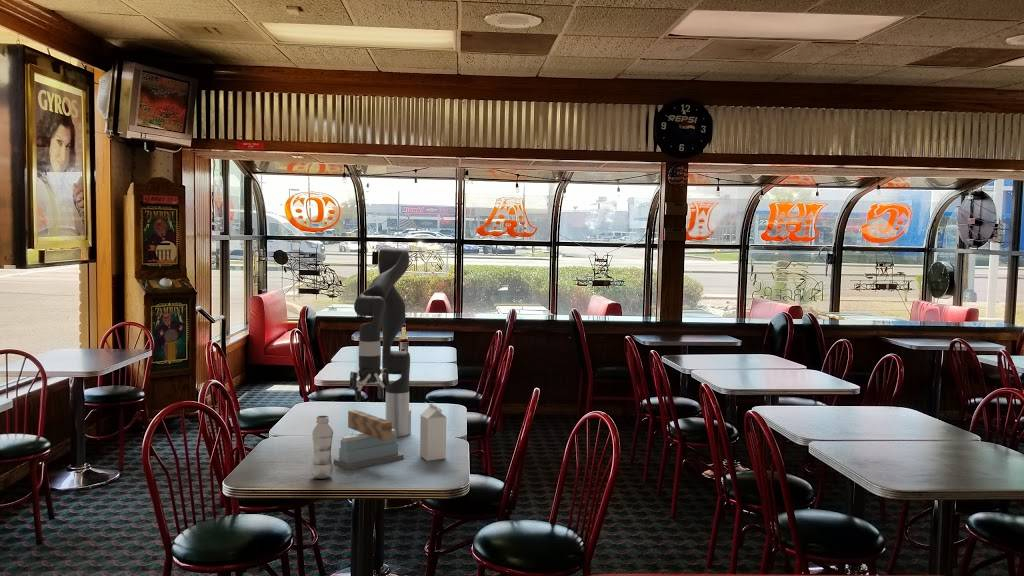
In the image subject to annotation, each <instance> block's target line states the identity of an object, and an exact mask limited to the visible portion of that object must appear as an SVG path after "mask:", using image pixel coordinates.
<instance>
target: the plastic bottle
mask: <svg viewBox="0 0 1024 576" xmlns="http://www.w3.org/2000/svg"><path fill="white" fill-rule="evenodd" d="M315 423H316V425H315V427H314V428H313V430H312V432H311V434H312V435H311V436H312V443H313V458H312V465H311V475H312V477H313V478H314V479H316V480H317V479H318V480H319V479H320V480H321V479H322V480H323V479H328V478H330V477H331V476H332V475H333V470H334V469H333V463H332V444H333V436H334V431H333V429H332V427H331V426H330V425H329V423H330V421H329V416H328V415H317V416H316V422H315Z"/></svg>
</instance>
